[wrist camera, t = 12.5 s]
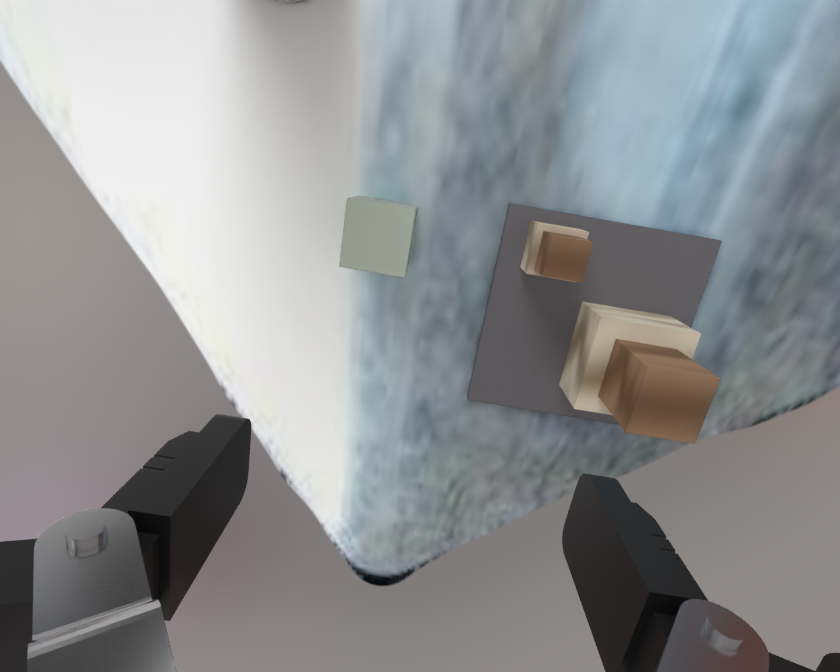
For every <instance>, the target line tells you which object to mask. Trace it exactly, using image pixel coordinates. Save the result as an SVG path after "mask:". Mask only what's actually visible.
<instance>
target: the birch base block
mask: <svg viewBox="0 0 840 672" xmlns="http://www.w3.org/2000/svg"><path fill="white" fill-rule="evenodd" d="M700 336H701V333H699V332H697V331H695V330H694V329H692V328H690V327H688V326H687V325H685V324H683V323H682V322H680V321H678V320H676V319H675V318H673V317H671V316H665V315H659V314H653V313H647V312H641V311H635V310H630V309H624V308H618V307H612V306H606V305H600V304H594V303H588V302H582V304H581V308H580V311H579V315H578V318H577V322H576V326H575V329H574V333H573V336H572V340H571V343H570V347H569V351H568V354H567V358H566V361H565V365H564V369H563V372H562V376H561V379H560V383H559V385H560V387H561V388H562V390H563V392H564V393H565V395H566V397H567V398H568V400H569V401H570V403H571V405H572V406H573V408H574V409H578V410H584V411H590V412H596V413H602V414H608V415H612V414H611V413H610V411H609V410H608V409H607V407H606V406H605V405H604V403H603V402H602V401H601V399H600V398H599V397H598V394H599V390H600V387H601V384H602V381H603V378H604V374H605V371H606V368H607V365H608V362H609V358H610V355H611V352H612V349H613V346H614V342H615V339H620V340H626V341H632V342H638V343H644V344H649V345H655V346H661V347H667V348H673V349H678V350H679V351H681V352H682V353H683V354H685V355H686V356H688V357H689V358H691V359H692V358H693V355H694V352H695V350H696V347H697V344H698V341H699V339H700Z"/></svg>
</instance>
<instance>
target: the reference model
mask: <svg viewBox="0 0 840 672" xmlns="http://www.w3.org/2000/svg"><path fill="white" fill-rule="evenodd" d="M588 235H589V232H587V231H584V230H582V229H579V228H573V227H567V226H562V225H556V224H550V223H545V222H539V221H533V220H531V223H530V227H529V232H528V236H527V240H526V244H525V249H524V253H523V257H522V262H521V266H520V268H521V269H522V270H523V271H524V272H525V273H526V274H531V275H536V276H542V277H548V278H554V279H560V280H566V281H571V282H581V283H582V282H583V278H584V274H585V271H586V267H587V263H588V260H589V256H590V253H591V249H592V245H593V242H592V241H589V240H587V238H588Z"/></svg>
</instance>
